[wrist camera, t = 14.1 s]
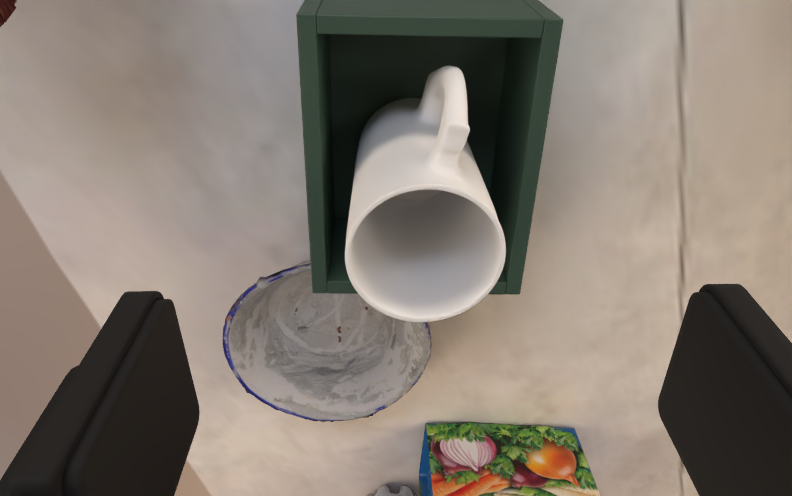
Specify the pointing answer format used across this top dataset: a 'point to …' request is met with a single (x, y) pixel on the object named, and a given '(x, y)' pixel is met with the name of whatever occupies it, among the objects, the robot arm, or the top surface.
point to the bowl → (320, 349)
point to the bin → (405, 78)
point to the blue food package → (503, 461)
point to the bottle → (404, 492)
